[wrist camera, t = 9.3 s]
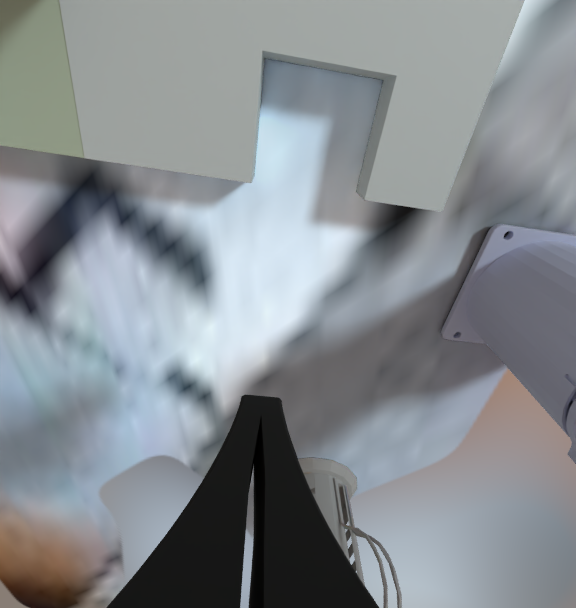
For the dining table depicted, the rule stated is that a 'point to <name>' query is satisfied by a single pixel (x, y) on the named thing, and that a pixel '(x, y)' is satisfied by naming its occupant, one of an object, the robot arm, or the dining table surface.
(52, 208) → the dining table surface
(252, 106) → the plate
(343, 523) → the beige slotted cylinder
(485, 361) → the dining table surface
